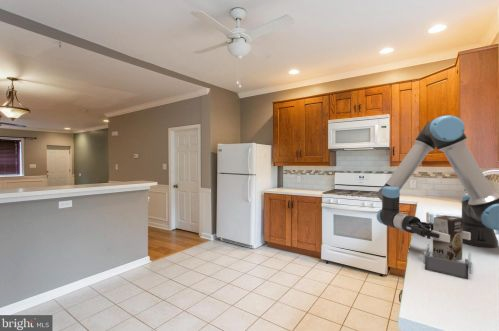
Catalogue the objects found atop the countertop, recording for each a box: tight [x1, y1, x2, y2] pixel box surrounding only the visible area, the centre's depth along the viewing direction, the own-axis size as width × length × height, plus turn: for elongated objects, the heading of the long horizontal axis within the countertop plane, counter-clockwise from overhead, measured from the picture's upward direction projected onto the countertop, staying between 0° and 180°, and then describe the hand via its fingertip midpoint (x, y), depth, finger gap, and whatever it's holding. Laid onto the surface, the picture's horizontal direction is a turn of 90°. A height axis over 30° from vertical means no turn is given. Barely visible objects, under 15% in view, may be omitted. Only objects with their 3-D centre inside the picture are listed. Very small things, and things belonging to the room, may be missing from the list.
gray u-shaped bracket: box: [423, 243, 472, 280], centre depth 98 cm, size 20×14×5 cm
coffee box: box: [431, 215, 463, 262], centre depth 100 cm, size 9×6×16 cm
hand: (459, 237), depth 95 cm, fingers closed on coffee box, 10 cm apart
